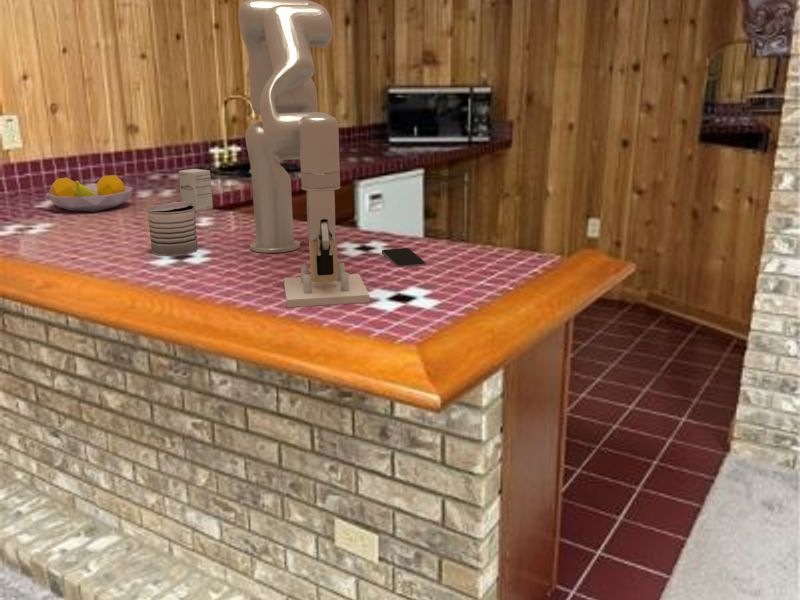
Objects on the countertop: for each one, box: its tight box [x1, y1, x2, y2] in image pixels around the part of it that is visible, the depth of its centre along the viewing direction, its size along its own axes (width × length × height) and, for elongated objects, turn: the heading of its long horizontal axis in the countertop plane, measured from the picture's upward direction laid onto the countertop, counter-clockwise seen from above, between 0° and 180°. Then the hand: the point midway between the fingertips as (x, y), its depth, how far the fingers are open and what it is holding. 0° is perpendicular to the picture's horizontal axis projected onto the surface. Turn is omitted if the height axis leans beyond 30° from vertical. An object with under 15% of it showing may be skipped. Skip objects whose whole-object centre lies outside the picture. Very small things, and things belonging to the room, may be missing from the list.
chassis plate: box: [283, 262, 371, 308], centre depth 150 cm, size 16×16×5 cm
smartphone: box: [381, 247, 427, 268], centre depth 179 cm, size 7×1×15 cm
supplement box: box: [178, 168, 214, 212], centre depth 243 cm, size 7×7×13 cm
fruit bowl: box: [45, 174, 134, 212], centre depth 245 cm, size 28×27×11 cm
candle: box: [308, 236, 338, 283], centre depth 149 cm, size 6×6×10 cm
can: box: [146, 201, 199, 257], centre depth 186 cm, size 11×11×12 cm
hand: (323, 269), depth 150 cm, fingers closed on candle, 5 cm apart
